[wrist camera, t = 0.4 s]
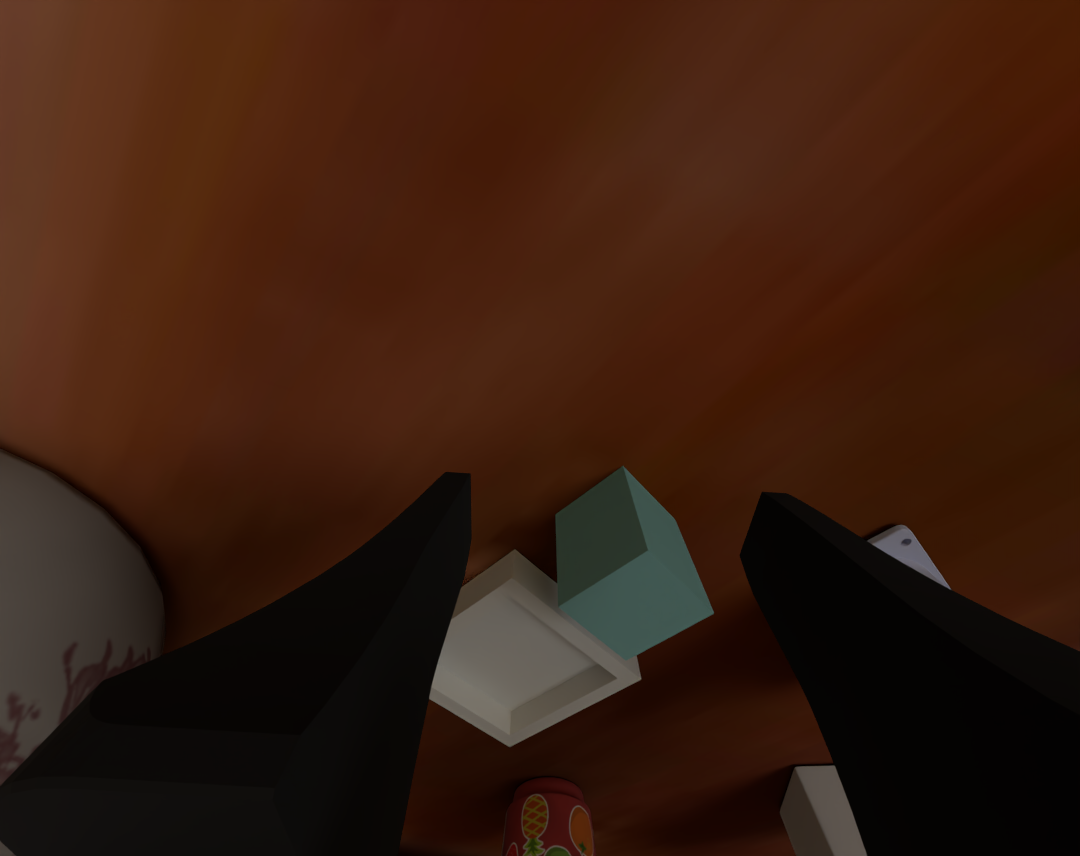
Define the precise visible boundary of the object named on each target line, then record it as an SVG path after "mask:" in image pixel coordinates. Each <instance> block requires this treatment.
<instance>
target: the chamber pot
mask: <svg viewBox="0 0 1080 856" xmlns="http://www.w3.org/2000/svg"><path fill="white" fill-rule="evenodd" d="M165 636H166V624H165V614H164V604H163V595H162V590H161V584H160V582H159V580H158V578H157V576H156V575H155V573H154V571H153V569H152V567H151V565H150V563H149V562H148V560H147V558H146V556H145V554H144V552H143V550H142V549H141V547H140V546H139V545H138V544H137V543H136V542H135V541H134V540H133V539H132V537H131V536H130V535H129V534H128V533H127V532H126V531H125V530H124V529H123V528H122V527H121V526H120V525H119V524H118V523H117V522H116V521H115V520H114V519H113V518H112V516H111V515H110V514H109V513H108V512H107V511H106V510H105V509H104V508H102V507H101V506H99V505H98V504H97V503H95V502H94V501H92V500H91V499H89V498H88V497H87V496H85V495H84V494H82V493H81V492H79V491H78V490H77V489H75V488H74V487H72V486H71V485H69V484H68V483H67V482H65V481H64V480H62V479H61V478H59V477H58V476H57V475H55V474H54V473H52V472H50V471H48V470H46V469H44V468H41V467H39V466H37V465H35V464H33V463H31V462H29V461H26V460H24V459H22V458H20V457H18V456H16V455H13V454H11V453H9V452H7V451H5V450H3V449H1V448H0V786H1V785H2V783H3V782H4V781H5V780H6V779H7V778H8V777H9V776H10V775H11V774H12V773H13V772H14V771H15V770H16V769H17V768H18V767H19V766H20V765H21V764H22V763H23V762H24V761H25V760H26V759H27V758H28V757H29V756H30V755H31V754H32V752H33V751H34V750H35V749H36V748H37V747H38V746H39V745H40V744H41V743H42V742H43V741H44V740H45V739H46V738H47V737H48V736H49V735H50V734H51V733H52V732H53V731H54V730H55V729H56V728H57V727H58V726H59V725H60V724H61V723H62V721H63V720H64V719H65V718H66V717H67V716H68V715H69V714H70V713H71V712H72V711H73V710H74V709H75V708H76V707H77V706H78V705H79V704H80V703H81V702H82V701H83V700H84V699H85V698H86V697H87V696H88V695H89V694H90V693H91V692H92V691H93V690H94V689H95V688H96V687H97V686H98V685H99V684H100V683H101V682H102V681H103V680H105V679H108V678H110V677H113V676H115V675H118V674H120V673H123V672H125V671H127V670H130V669H132V668H134V667H137V666H139V665H141V664H144V663H146V662H149V661H151V660H153V659H156V658H158V657H160V656H162V655H163V648H164V642H165ZM0 856H16V855H14V854H13V853H12V852H11V851H10V850H9V849H8V848H7V847H6V846H5V845H4V844H3V843H1V841H0Z"/></svg>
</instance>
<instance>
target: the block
mask: <svg viewBox="0 0 1080 856" xmlns="http://www.w3.org/2000/svg"><path fill="white" fill-rule="evenodd" d="M555 515H556V552H557V589H558V607H559V608H560V609H561V610H562V611H564V612H565V613H566V614H567V615H569V616H570V617H571V618H573V619H574V620H575V621H576V622H578V623H579V624H580V625H581V626H583V627H584V628H585V629H586V630H588V631H589V632H590V633H591V634H593V635H594V636H595V637H596V638H598V639H599V640H600V641H602V642H603V643H604V644H605V645H607V646H608V647H609V648H610V649H612V650H613V651H614V652H615V653H617V654H618V655H619V656H620V657H622V658H623V659H624V660H625V661H627V660H628V659H630V658H632V657H634V656H636V655H638V654H640V653H641V652H643V651H645V650H647V649H649V648H651V647H653V646H654V645H656V644H658V643H660V642H662V641H664V640H666V639H667V638H669V637H671V636H673V635H675V634H677V633H679V632H680V631H682V630H684V629H686V628H688V627H690V626H692V625H693V624H695V623H697V622H699V621H701V620H703V619H705V618H707V617H708V616H710V615H712V614H714V612H713V609H712V607H711V605H710V602H709V600H708V597H707V595H706V593H705V590H704V588H703V585H702V583H701V581H700V578H699V576H698V574H697V571H696V569H695V566H694V564H693V562H692V559H691V557H690V554H689V552H688V550H687V547H686V545H685V542H684V540H683V538H682V535H681V533H680V530H679V528H678V526H677V523H676V521H675V519H674V518H673V517H672V516H671V515H670V514H669V513H668V512H667V511H666V510H665V509H664V508H663V507H662V506H661V505H660V504H659V503H658V502H657V501H656V499H655V498H654V497H653V496H652V495H651V494H650V493H649V492H648V491H647V490H646V489H645V488H644V487H643V486H642V485H641V484H640V483H639V482H638V481H637V480H636V479H635V478H634V477H633V476H632V475H631V474H630V473H629V472H628V471H627V470H626V469H625V468H624V467H623V466H622V467H621V468H619V469H618V470H617V471H615V472H614V473H612V474H611V475H610V476H608V477H607V478H605V479H604V480H603V481H601V482H600V483H599V484H597V485H596V486H594V487H593V488H592V489H590V490H589V491H587V492H586V493H585V494H583V495H582V496H580V497H579V498H578V499H576V500H575V501H574V502H572V503H571V504H569V505H568V506H567V507H565V508H564V509H562V510H561V511H560V512H558V513H557V514H555Z"/></svg>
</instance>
